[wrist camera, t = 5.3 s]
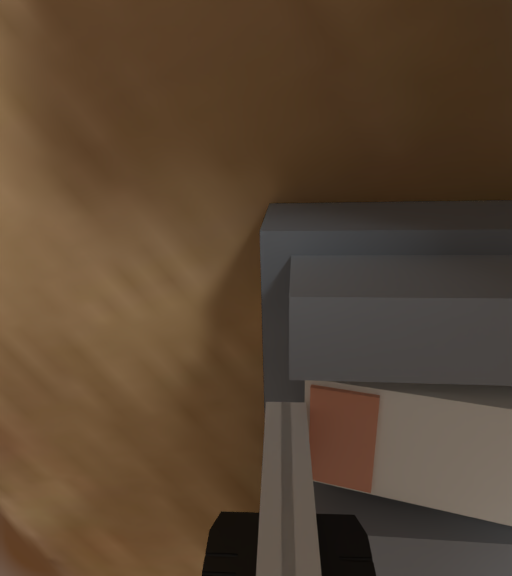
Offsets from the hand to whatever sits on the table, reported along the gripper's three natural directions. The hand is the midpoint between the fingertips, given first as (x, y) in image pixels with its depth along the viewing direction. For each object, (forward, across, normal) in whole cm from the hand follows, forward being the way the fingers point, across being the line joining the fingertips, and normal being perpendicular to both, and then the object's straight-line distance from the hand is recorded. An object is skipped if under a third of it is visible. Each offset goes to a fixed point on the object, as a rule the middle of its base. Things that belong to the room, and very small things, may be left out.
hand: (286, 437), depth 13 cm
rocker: (0, +6, 0) cm, 6 cm away
